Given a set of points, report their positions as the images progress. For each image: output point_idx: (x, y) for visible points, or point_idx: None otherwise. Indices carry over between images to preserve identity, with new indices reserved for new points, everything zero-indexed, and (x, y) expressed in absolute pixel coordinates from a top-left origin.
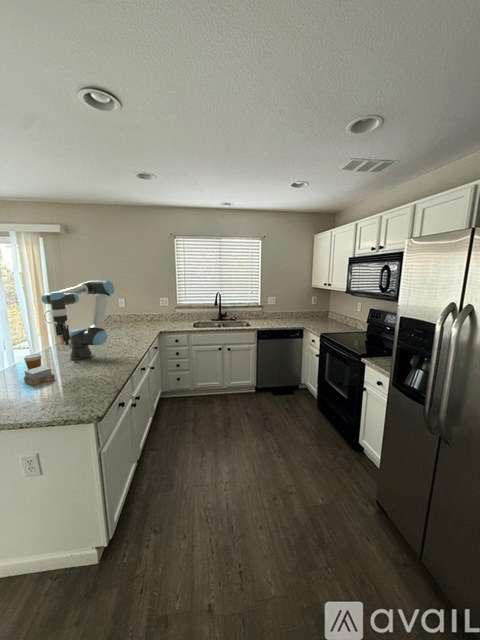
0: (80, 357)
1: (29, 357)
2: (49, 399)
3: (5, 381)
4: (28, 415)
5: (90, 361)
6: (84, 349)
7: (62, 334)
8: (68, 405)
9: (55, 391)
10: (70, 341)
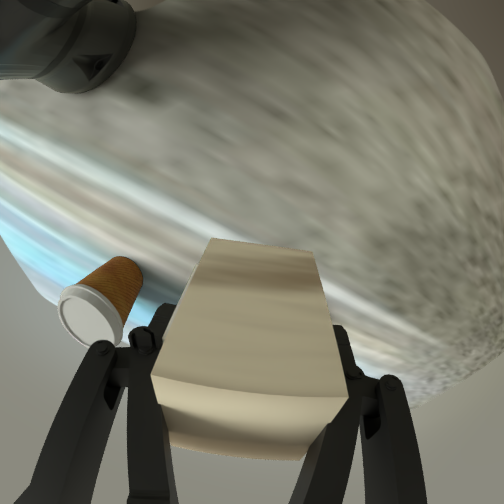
0: (115, 57)
1: (93, 337)
2: (414, 362)
3: None
4: (419, 396)
5: (202, 38)
6: (93, 19)
7: (171, 410)
8: (470, 351)
9: (395, 339)
10: (327, 312)
